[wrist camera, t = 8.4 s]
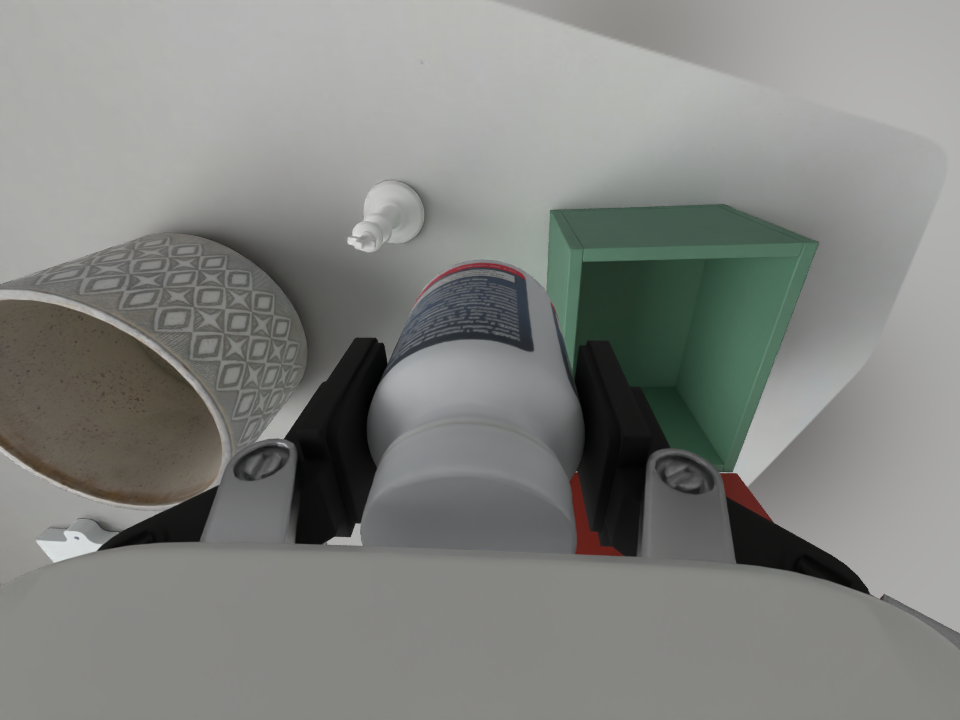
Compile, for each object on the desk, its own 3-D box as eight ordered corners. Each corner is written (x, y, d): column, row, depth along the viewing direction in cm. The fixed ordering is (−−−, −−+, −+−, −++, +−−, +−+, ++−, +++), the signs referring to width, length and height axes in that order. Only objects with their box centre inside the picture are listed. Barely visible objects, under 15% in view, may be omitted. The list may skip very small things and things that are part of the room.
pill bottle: (384, 327, 15) (264, 541, 8) (480, 223, 13) (447, 374, 6) (487, 408, 17) (473, 649, 9) (588, 327, 15) (675, 555, 7)
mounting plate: (38, 516, 57) (24, 528, 55) (129, 521, 57) (118, 533, 55) (97, 590, 66) (87, 602, 64) (176, 595, 66) (167, 607, 64)
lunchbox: (550, 210, 33) (569, 248, 23) (724, 204, 32) (820, 242, 23) (542, 389, 42) (554, 471, 32) (678, 388, 41) (732, 472, 31)
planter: (262, 430, 47) (175, 542, 34) (92, 329, 41) (-85, 421, 29) (349, 321, 39) (278, 416, 27) (156, 179, 33) (-47, 217, 21)
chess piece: (421, 247, 35) (395, 289, 27) (364, 237, 35) (319, 276, 26) (427, 186, 33) (399, 211, 24) (365, 175, 32) (315, 196, 24)
